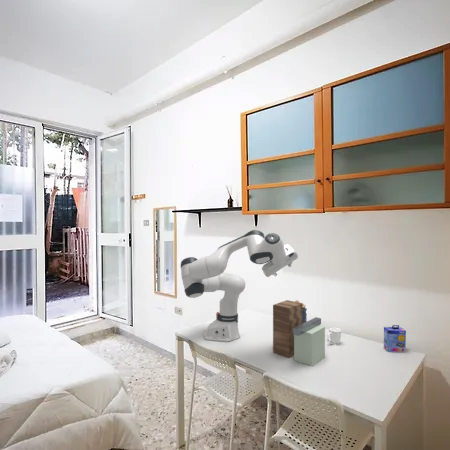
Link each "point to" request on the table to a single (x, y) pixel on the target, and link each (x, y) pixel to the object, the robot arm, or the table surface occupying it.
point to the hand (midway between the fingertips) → (282, 270)
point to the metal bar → (306, 326)
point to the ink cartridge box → (394, 339)
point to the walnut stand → (286, 326)
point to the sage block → (310, 346)
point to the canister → (303, 313)
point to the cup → (334, 335)
